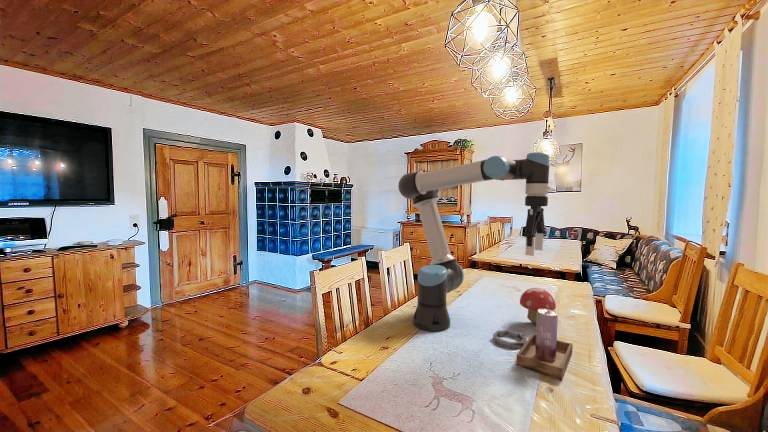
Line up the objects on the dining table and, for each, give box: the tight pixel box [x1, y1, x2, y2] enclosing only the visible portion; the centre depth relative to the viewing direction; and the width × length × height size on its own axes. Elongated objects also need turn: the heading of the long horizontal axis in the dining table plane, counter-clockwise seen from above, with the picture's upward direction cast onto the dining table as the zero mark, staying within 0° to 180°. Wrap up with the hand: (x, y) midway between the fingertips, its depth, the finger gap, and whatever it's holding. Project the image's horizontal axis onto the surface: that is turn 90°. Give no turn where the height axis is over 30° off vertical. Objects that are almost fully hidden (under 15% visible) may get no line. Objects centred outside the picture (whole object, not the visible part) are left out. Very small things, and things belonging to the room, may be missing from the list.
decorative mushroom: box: [519, 287, 557, 325], centre depth 131 cm, size 13×13×15 cm
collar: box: [492, 329, 528, 350], centre depth 115 cm, size 10×10×2 cm
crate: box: [515, 333, 574, 381], centre depth 103 cm, size 13×20×4 cm, turn 142°
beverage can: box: [535, 309, 559, 361], centre depth 102 cm, size 6×6×15 cm
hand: (534, 252), depth 118 cm, fingers open, 13 cm apart
